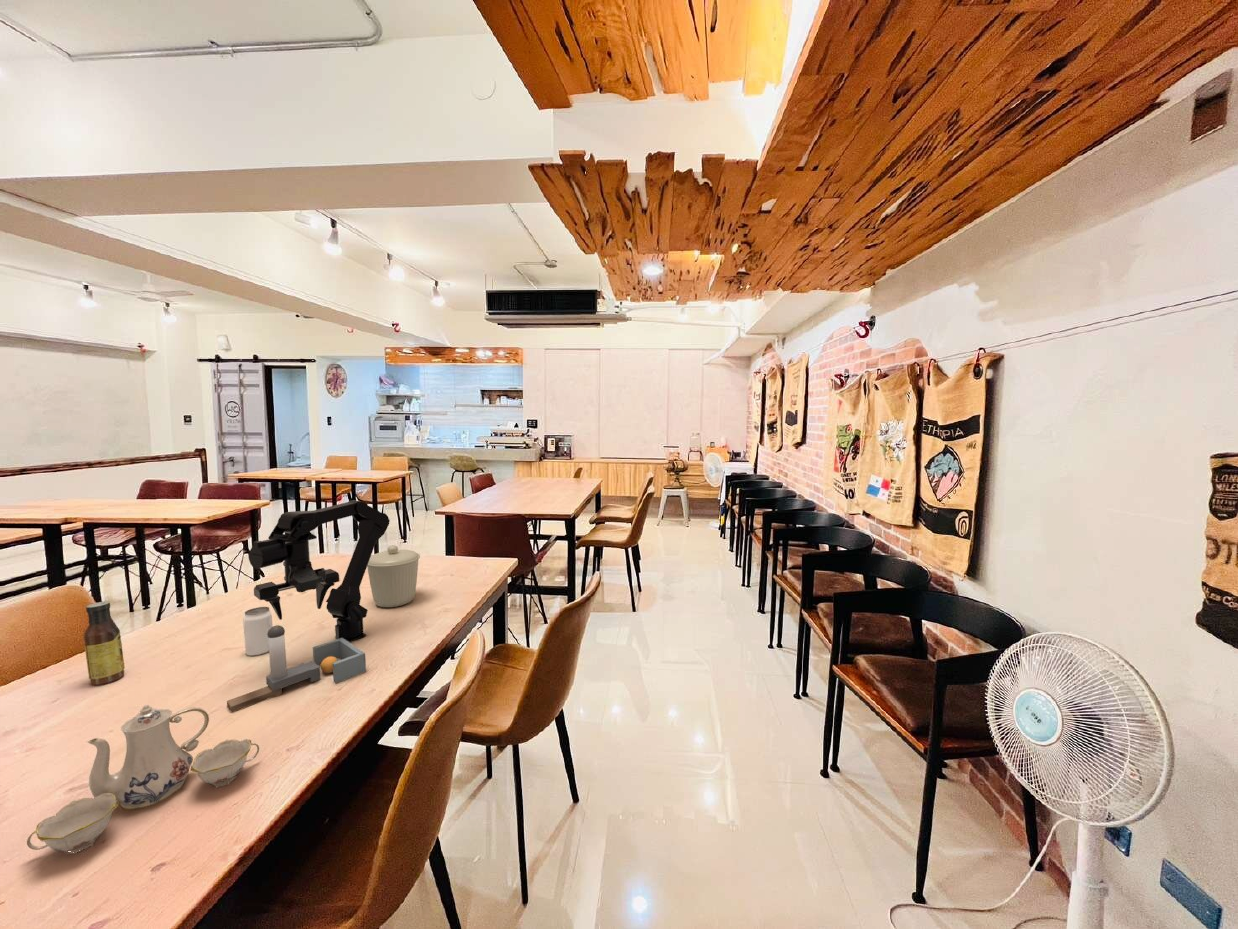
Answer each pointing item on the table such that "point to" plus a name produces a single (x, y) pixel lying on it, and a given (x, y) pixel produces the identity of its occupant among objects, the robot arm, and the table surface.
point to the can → (257, 630)
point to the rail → (252, 698)
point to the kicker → (278, 663)
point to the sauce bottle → (103, 645)
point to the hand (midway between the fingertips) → (300, 613)
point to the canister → (393, 576)
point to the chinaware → (140, 777)
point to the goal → (350, 655)
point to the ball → (328, 664)
